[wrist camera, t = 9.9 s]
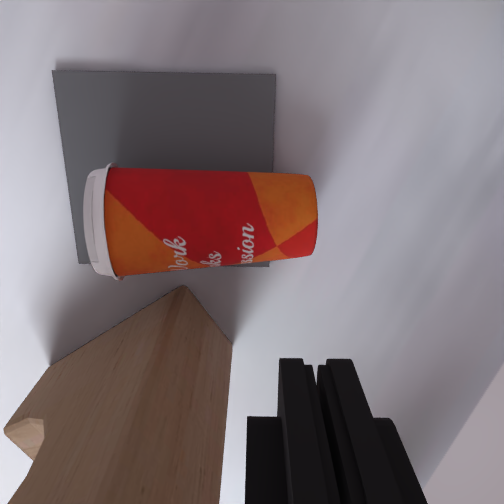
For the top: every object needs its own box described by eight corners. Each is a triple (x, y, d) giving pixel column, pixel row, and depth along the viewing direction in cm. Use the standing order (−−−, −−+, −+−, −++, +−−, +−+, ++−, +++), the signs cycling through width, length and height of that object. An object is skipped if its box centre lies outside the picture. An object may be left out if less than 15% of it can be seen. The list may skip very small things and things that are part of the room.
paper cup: (298, 270, 33) (112, 279, 32) (293, 171, 33) (108, 176, 32) (326, 273, 25) (81, 285, 24) (319, 144, 25) (76, 148, 24)
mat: (269, 264, 34) (269, 266, 34) (81, 261, 34) (78, 263, 34) (275, 74, 29) (275, 74, 29) (55, 70, 29) (51, 70, 29)
